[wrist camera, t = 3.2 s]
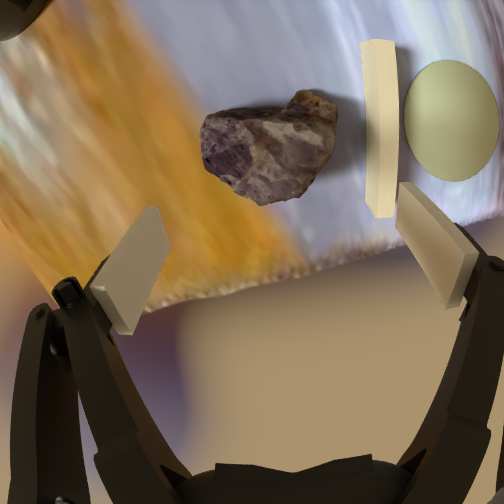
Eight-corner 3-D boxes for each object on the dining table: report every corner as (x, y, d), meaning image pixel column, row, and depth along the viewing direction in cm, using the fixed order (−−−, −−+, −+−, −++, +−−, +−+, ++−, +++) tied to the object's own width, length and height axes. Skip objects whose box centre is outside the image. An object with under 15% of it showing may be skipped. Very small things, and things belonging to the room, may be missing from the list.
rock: (217, 95, 26) (229, 183, 31) (182, 103, 19) (202, 219, 25) (334, 89, 23) (336, 183, 29) (344, 93, 16) (342, 221, 22)
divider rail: (365, 201, 31) (376, 218, 27) (359, 42, 20) (373, 38, 17) (380, 200, 31) (393, 217, 27) (378, 43, 20) (394, 41, 17)
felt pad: (401, 180, 29) (403, 182, 28) (400, 50, 20) (402, 50, 20) (489, 180, 27) (492, 182, 27) (496, 73, 19) (499, 74, 18)
